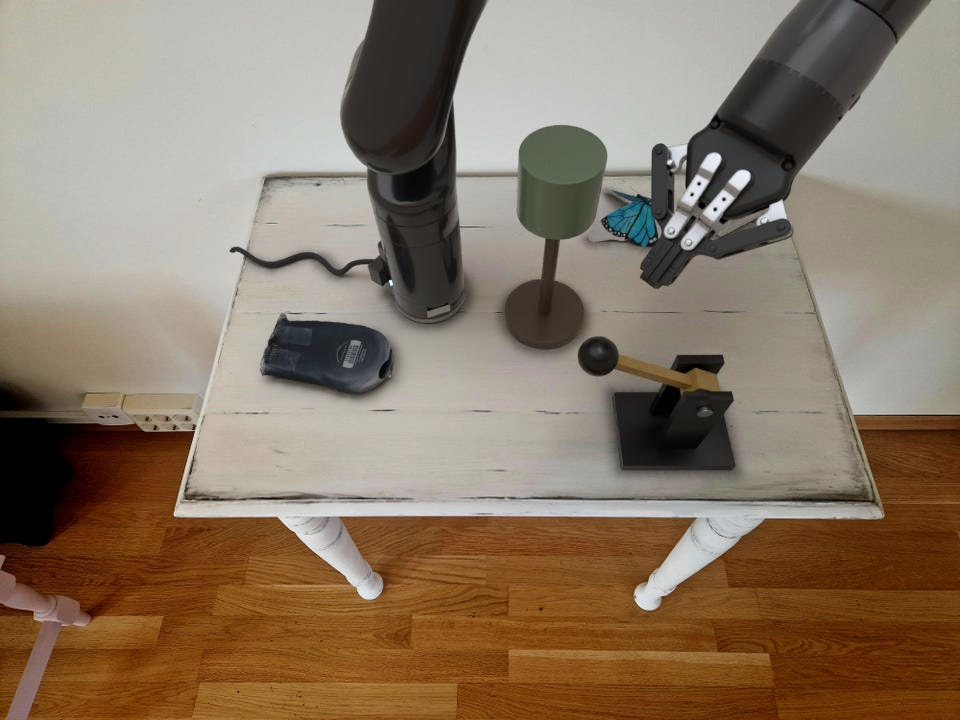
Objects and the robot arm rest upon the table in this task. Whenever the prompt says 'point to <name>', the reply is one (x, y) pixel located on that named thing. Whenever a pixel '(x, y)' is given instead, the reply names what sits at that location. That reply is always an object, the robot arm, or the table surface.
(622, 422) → the switch bracket
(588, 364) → the lever with ball knob
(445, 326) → the table surface
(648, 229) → the decorative butterfly
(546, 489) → the table surface
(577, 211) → the desk lamp
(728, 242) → the robot arm
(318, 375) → the electronic device
